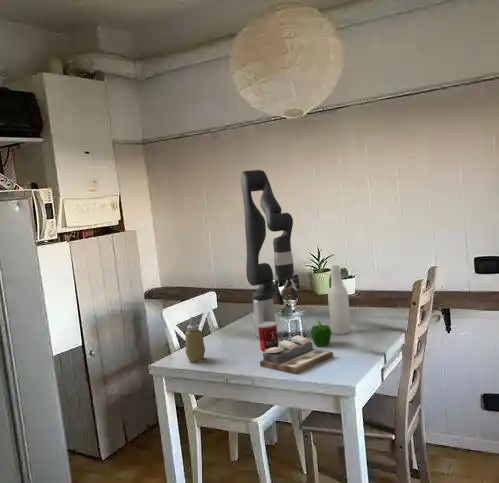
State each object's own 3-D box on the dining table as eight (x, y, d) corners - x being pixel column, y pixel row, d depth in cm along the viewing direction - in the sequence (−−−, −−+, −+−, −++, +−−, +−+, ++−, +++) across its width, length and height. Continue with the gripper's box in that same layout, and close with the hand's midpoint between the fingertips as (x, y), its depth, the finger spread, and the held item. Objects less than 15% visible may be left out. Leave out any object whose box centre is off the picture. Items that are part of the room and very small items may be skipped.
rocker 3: (291, 341, 227) (291, 337, 226) (297, 338, 230) (297, 334, 229) (303, 345, 222) (303, 342, 222) (309, 343, 225) (310, 339, 225)
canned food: (266, 353, 233) (263, 327, 232) (257, 349, 240) (254, 324, 239) (282, 349, 237) (279, 323, 235) (272, 345, 244) (270, 320, 243)
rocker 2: (278, 346, 222) (278, 342, 221) (285, 343, 224) (285, 339, 224) (290, 351, 217) (291, 347, 217) (297, 348, 220) (297, 344, 220)
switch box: (260, 366, 217) (259, 353, 217) (297, 350, 233) (296, 338, 232) (296, 374, 204) (295, 360, 204) (333, 357, 220) (332, 344, 219)
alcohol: (345, 328, 259) (339, 263, 256) (354, 332, 251) (349, 265, 248) (327, 331, 256) (322, 266, 253) (336, 336, 248) (331, 268, 245)
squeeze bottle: (198, 363, 228) (193, 320, 226) (182, 362, 233) (177, 319, 231) (210, 357, 235) (205, 315, 233) (194, 356, 239) (190, 314, 238)
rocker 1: (265, 354, 217) (264, 350, 217) (272, 351, 219) (271, 347, 219) (277, 353, 212) (276, 349, 212) (284, 350, 215) (283, 346, 215)
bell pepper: (331, 347, 232) (329, 323, 231) (311, 348, 234) (309, 324, 233) (332, 341, 241) (330, 318, 240) (313, 342, 242) (310, 319, 241)
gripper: (287, 260, 237) (291, 298, 238) (265, 265, 227) (269, 305, 228) (301, 260, 232) (305, 299, 233) (279, 265, 221) (283, 306, 223)
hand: (287, 302), depth 230 cm, fingers open, 8 cm apart
